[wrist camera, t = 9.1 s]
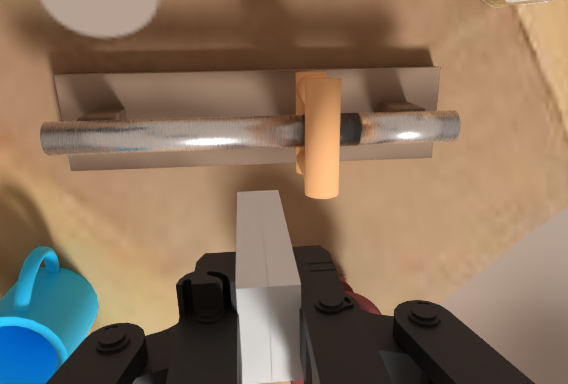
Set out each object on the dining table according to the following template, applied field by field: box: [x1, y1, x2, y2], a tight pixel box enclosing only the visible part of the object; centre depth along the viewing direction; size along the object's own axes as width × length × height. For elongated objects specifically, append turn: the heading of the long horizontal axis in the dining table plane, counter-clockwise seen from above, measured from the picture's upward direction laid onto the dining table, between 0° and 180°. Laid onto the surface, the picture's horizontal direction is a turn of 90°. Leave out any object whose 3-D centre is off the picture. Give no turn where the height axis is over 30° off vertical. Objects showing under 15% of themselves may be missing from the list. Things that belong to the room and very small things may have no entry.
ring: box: [296, 71, 341, 199], centre depth 33 cm, size 8×2×8 cm, turn 1°
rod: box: [40, 110, 460, 156], centre depth 33 cm, size 30×2×2 cm, turn 90°
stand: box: [54, 66, 441, 171], centre depth 37 cm, size 8×32×6 cm, turn 91°
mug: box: [0, 246, 99, 384], centre depth 40 cm, size 12×8×8 cm
